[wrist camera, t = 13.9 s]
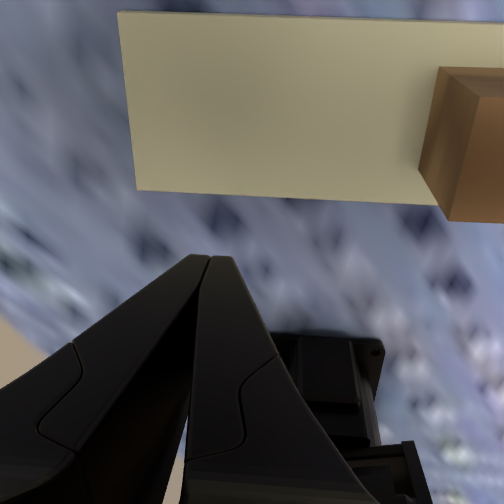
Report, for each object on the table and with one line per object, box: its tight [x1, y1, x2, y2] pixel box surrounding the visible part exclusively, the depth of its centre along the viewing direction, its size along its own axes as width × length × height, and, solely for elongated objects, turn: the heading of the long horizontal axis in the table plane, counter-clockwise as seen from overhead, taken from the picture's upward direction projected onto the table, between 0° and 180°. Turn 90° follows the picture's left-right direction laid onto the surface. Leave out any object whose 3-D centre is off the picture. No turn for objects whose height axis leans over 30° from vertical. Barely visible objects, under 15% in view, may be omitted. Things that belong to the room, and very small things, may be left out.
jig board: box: [117, 10, 504, 206], centre depth 19 cm, size 7×26×1 cm, turn 89°
